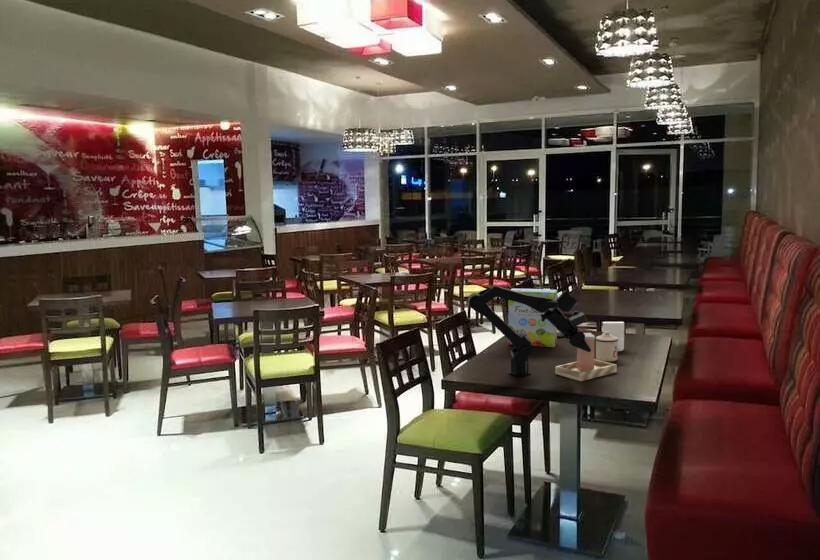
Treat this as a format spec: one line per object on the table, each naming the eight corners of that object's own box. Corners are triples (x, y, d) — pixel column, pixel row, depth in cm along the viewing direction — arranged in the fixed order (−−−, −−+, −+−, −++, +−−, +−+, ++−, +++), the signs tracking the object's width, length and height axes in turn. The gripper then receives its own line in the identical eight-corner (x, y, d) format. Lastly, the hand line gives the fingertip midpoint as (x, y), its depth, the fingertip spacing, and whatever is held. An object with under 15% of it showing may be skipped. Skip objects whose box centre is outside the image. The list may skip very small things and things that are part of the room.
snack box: (507, 345, 310) (507, 290, 306) (510, 341, 318) (510, 287, 314) (555, 347, 303) (555, 291, 299) (557, 343, 311) (557, 288, 308)
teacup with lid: (617, 362, 275) (618, 334, 274) (594, 361, 278) (595, 333, 276) (618, 355, 287) (618, 328, 285) (596, 354, 289) (596, 327, 288)
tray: (581, 381, 250) (581, 373, 250) (555, 373, 261) (555, 366, 260) (616, 372, 261) (616, 364, 261) (590, 365, 272) (590, 358, 271)
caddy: (580, 372, 257) (580, 337, 255) (576, 367, 264) (576, 333, 262) (594, 372, 257) (595, 336, 255) (590, 367, 264) (590, 332, 262)
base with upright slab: (621, 346, 302) (621, 320, 300) (625, 351, 293) (626, 324, 291) (601, 346, 303) (601, 320, 301) (604, 351, 294) (605, 324, 292)
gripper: (579, 310, 248) (608, 339, 249) (569, 302, 267) (597, 328, 268) (557, 331, 250) (587, 360, 251) (549, 321, 268) (576, 348, 269)
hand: (587, 348), depth 260 cm, fingers open, 9 cm apart
